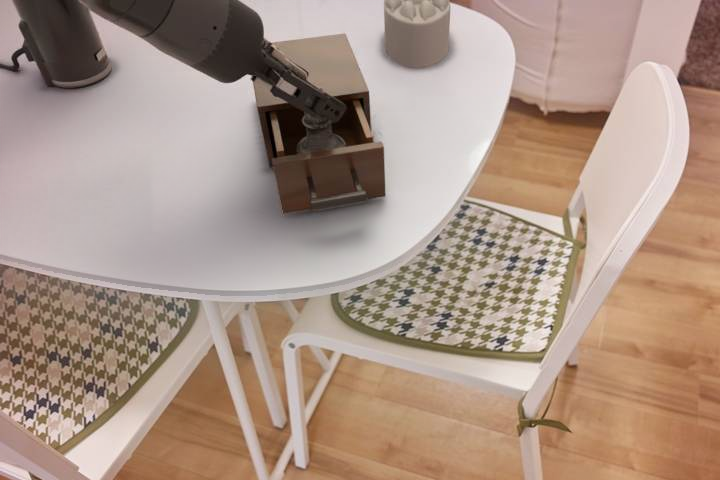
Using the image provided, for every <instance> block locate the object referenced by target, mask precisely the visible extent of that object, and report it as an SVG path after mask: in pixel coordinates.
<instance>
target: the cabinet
mask: <svg viewBox="0 0 720 480" xmlns="http://www.w3.org/2000/svg"><path fill="white" fill-rule="evenodd" d="M271 43H272V44H274V45H275V46H276V47H278V48H279V49H280V51H281V52H282V53H284V55H285V57H286V58H287V59H289V60H291V61H292V62H294V63H296V64H297V65H299V66H300V67H302V68H304V69H305V70H306V71H307V72H308V73H309V76H308V80H309V81H311V82H312V83H314V84H315V85H316V86H318V87H321V88H323V89H324V90H323V91H325V92H326V93H328V94H329V95H331V96H333V97H334V98H336V99H338V100H339V101H343V100H350V99H357V98H358V99H359V101H360V104H361V107H362V109H363V112H364V114H365V117H366V120H367V122H368V125H369V128H370V130H371V131H372V119H371V104H370V103H371V101H370V89H369V88H368V86H367V83H366V81H365V80H366V79H365V77H364V75H363V72H362V71H361V69H360V66H359V63H358V61H357V58H356V56H355V53H354V51H353V48H352V47H351V44H350V42H349V39H348V36H347V34H346V33H345V32H344V33H336V34H329V35H323V36H322V35H320V36H313V37H306V38H305V37H304V38H296V39H289V40H282V41H274V42H271ZM252 85H253V86H252V87H253V91H254V97H255V104H256V108H257V113H258V118H259V124H260V128H261V133H262V137H263V142H264V148H265V153H266V157H267V162H268V163H267V164H268V167H269V169H274V168H273V163H272V158H278V155H277V150H276V145H275V140H274V134H273V129H272V124H271V119H270V113H269V111H274V110H281V109H288V108H295V106H293V105H291V104H289V103H288V102H286V101H284V100H282V99H280V98H279V97H275V96H274V95H272V94H273V93H271V92H270V90H269V89H268V88H262V87H260V86H259V85H257V84H256V83H254V82H253V81H252Z"/></svg>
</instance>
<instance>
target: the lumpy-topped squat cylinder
mask: <svg viewBox="0 0 720 480" xmlns="http://www.w3.org/2000/svg"><path fill="white" fill-rule="evenodd" d="M383 19H384V20H383V21H384V49H385V54H386V55H387V57H388V58H390V59H391V60H392V61H393V62H395V63H397V64H399V65H401V66H403V67H406V68H410V69H425V68H428V67H429V68H430V67H432V66H434V65H436V64H438V63H440V62H441V61H442V60H443V59H444V58H445V57H446V56H447V55H448V54H449V45H450V44H449V43H450V27H451V26H450V24H451V1H450V0H383Z"/></svg>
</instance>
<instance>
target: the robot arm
mask: <svg viewBox="0 0 720 480" xmlns="http://www.w3.org/2000/svg"><path fill="white" fill-rule="evenodd" d="M11 3H12V5H13V6H14V9H15V11H16V13H17V15H18V17H19V22H18V29H19V31H20V34H21V35H22V37H23V39H24V40H23V42H22V46H21V47H20V48H18V49H17V50H15V51H14V52H13V53H12V55H11V56H10V57H11V58H10V59H11V62H12V64H13V65H7V64H3V63H0V69H3V70H7V71H10V72H15V71H18V70H19V69H20V62H19V57H21V56H22V55H24V54H25V57H26V59H27V61H28V62H29V63H32V62H35V65H36V67H37V69H38V70H39V73H40V75H41V77H42V79H43V81H44V83H45V85H46V87H52V86H53V87H55V86H56V87H59V88H64V89H73V88H81V87H86V86H89V85H92V84H94V83H97V82H99V81H101V80H103V79H105V78H106V77H107V76H108V75H109V74H110V72H111V71H112V67H113V66H112V62H111V60H110V58H109V56H108V53H107V51H106V49H105V47H104V44H103V41H102V38H101V36H100V34H99V30H98V27H97V25H96V24H95V20H94V18H93V15H92V13H93V14H96V15H97V16H98V17H100V18H102V19H104V20H106V21H107V22H110V23H112V24H113V25H116V26H118V27H119V28H121V29H123V30H125V31H126V32H129V33H131V34H133V35H134V36H137V37H138V38H140V39H141V40H144V41H145V42H146V43H148V44H149V45H150V46H152V47H154V48H155V49H157V50H158V51H160V52H162V53H163V54H165V55H166V56H169V57H171V58H173V59H175V60H177V61H179V62H180V63H183V64H184V65H186V66H188V67H190V68H192V69H194V70H196V71H198V72H200V73H202V74H204V75H206V76H207V77H210V78H211V79H214V80H215V81H218V82H219V83H222V84H232V83H235V82H237V81H239V80H241V79H243V77H245V76H247V75H248V76H251V77H250V78H249V80H250V81H252V83H253V82H254V83H256V84H257V85H259V86H260V87H262V88H268V89H269V90H270V92H271V93H273V94H272V95H274V96H275V97H279V98H280V99H282V100H284V101H286V102H288V103H289V104H291V105H293V106H295V107H297V108H298V109H300V110H302V111H304V112H306V113H307V114H309V115H310V116H311V117H313V118H314V117H315V118H318V117H319V115H322V116H323V117H325V118H327V119H329V120H331V121H333V122H334V123H336V122H338V121H339V120H340V119H341V117H342V116H343V114H344V113H345V111H346V109H347V107H346V105H345V104H344V103H342V102H341V101H339V100H338V99H336V98H334V97H333V96H331V95H329V94H328V93H326V92H325V91H323V90H324V89H323V88H321V87H318V86H316V85H315V84H313V83H312V82H311V81H309V80H308V76H309V73H308V72H307V71H306V70H305V69H304V68H302V67H300V66H299V65H297V64H296V63H294V62H292V61H291V60H289V59H287V58H286V57H285V55H284V53H282V52H281V51H280V49H279V48H278V47H276V46H275V45H274V44H272V43H273V42H271V41H270V40H268V39H267V38H266V37H265V28H264V23H263V20H262V18H261V16H260V14H258V12H257V11H256V10H254V9H253V8H252V7H250V6H248V5H247V4H245V3H244V2H243V1H241V0H11Z"/></svg>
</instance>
